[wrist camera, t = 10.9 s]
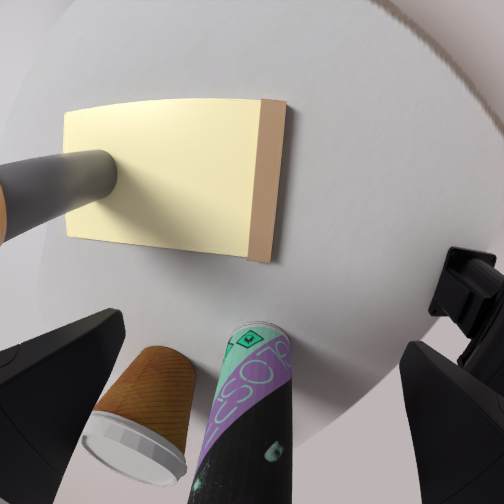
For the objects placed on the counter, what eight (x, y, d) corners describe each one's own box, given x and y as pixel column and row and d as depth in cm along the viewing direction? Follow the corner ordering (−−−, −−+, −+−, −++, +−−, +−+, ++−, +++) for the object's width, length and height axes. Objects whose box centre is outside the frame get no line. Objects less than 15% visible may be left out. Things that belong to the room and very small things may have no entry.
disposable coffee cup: (175, 319, 24) (117, 427, 12) (229, 388, 26) (208, 491, 15) (109, 345, 26) (53, 425, 15) (162, 402, 29) (129, 484, 17)
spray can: (290, 320, 23) (289, 586, 4) (290, 367, 24) (285, 583, 6) (224, 321, 23) (153, 568, 5) (232, 367, 25) (187, 573, 6)
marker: (112, 140, 18) (-53, 165, 5) (124, 192, 19) (-31, 266, 6) (74, 158, 19) (-72, 197, 6) (85, 205, 20) (-52, 276, 7)
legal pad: (286, 104, 17) (286, 101, 16) (270, 257, 21) (270, 262, 20) (68, 113, 18) (60, 112, 17) (70, 234, 22) (63, 238, 21)
